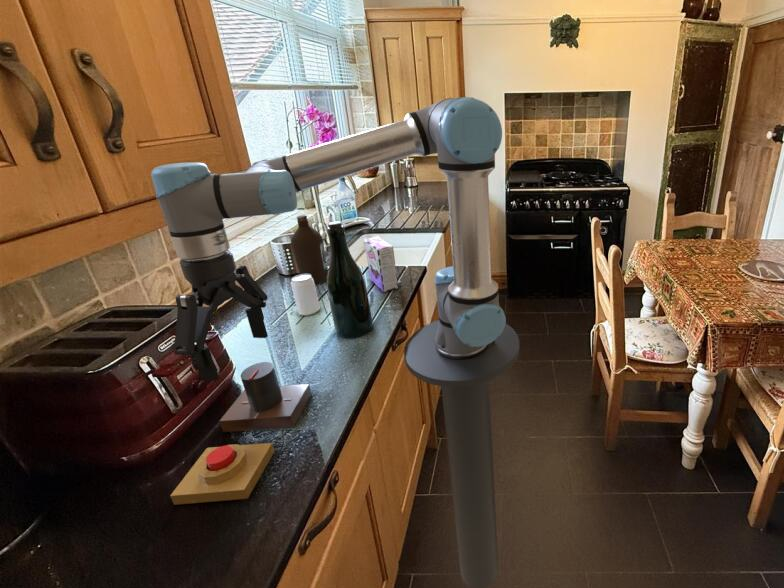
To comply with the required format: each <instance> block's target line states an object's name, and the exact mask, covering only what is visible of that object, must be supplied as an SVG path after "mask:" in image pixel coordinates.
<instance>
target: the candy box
mask: <svg viewBox="0 0 784 588" xmlns="http://www.w3.org/2000/svg"><path fill="white" fill-rule="evenodd" d="M363 244H364V248H365V254H366V260H367V266H368V274H369V279H370V281H371V282H372V283H373V284H374V285H375V286H376V287H377V288H378V289H380V291H382V292H383V293H387V292H391V291H393V290H397V289H399V283H398V277H397V268H396V260H395V251H394V245H393V244H390V243H389V242H388V241H386V240H384V239H383V238H381V237H380V236H379V235H377V236H373V237H369V238H364V239H363Z"/></svg>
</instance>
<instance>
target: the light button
mask: <svg viewBox="0 0 784 588" xmlns="http://www.w3.org/2000/svg"><path fill="white" fill-rule="evenodd" d="M228 445H229V444H227V446H226V445H221V446H218V447H219V448H217V449H215V450H213V451H212V452H211V453H210V454H209V455H208V456H207V458H206V462H207V465H208V467H209V469H210V470H211V471H218V470H221V469H223V468H225V467H227V466H228V465H230V464H231V463H232V462H233V461H234V460H235V457H236V456H235V453H234V450H233V448H232V447H231V446H228Z"/></svg>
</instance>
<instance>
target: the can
mask: <svg viewBox="0 0 784 588" xmlns="http://www.w3.org/2000/svg"><path fill="white" fill-rule="evenodd" d="M290 286H291V289H292V295H293V298H294V302H295V307H296V310H297V314H299V315H300V316H302V317H303V316H304V317H306V316H312V315H315V314H316V313H317V312H319V311H320V309H321V306H320V302H319V296H318V292H317V288H316V284H315V283H314V280H313V278H312V277H311V275H310V274H300V273H299V274H297V275H294V276H293V277H291V282H290Z"/></svg>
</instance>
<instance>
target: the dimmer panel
mask: <svg viewBox="0 0 784 588" xmlns="http://www.w3.org/2000/svg"><path fill="white" fill-rule="evenodd" d="M279 386H280V389H281V393H282V399H281V401H280V402H279V403H278V404H277V405H275V406H274V407H272V408H270V409H267V410H264V411H254V410H252V409H251V407H250V404H249V401H248V398H247V395H246V392H245V389H243V391H242V392H241V393H240V394H239V396H238V397H237V398H236V400H235V401H234V402H233V403H232V404H231V406H230V407H229V408H228V410H227V411H226V412H225V413H224V414H223V416H222V417H221V418H220V420H219V421H218V422H219V424H220V427H221V430H222V432H223V433H234V432H246V431H260V430H274V429H289V428H294V427H295V426H296V424H297V422H298V420H299V419H300V416H301V414H302V413H303V412H304V409H305V407H306V406H307V404H308V402H309V400H310V398H311V397H312V394H313V393H312V390H311V386H310V383H304V384H302V383H301V384H289V385H287V384H286V385H279Z"/></svg>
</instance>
